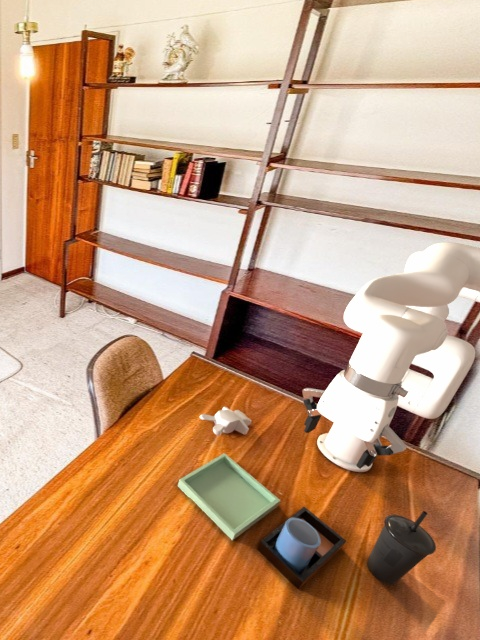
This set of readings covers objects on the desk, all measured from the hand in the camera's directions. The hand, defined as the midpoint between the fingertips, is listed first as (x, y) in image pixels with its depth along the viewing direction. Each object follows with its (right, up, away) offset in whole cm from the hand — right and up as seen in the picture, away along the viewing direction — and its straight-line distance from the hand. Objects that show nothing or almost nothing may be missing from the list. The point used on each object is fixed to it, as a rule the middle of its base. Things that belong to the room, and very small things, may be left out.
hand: (334, 446), depth 80 cm
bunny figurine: (-2, -11, +40) cm, 41 cm away
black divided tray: (-2, -26, +8) cm, 28 cm away
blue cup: (-5, -27, +6) cm, 28 cm away
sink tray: (-12, -21, +19) cm, 31 cm away
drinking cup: (+13, -29, +4) cm, 32 cm away
